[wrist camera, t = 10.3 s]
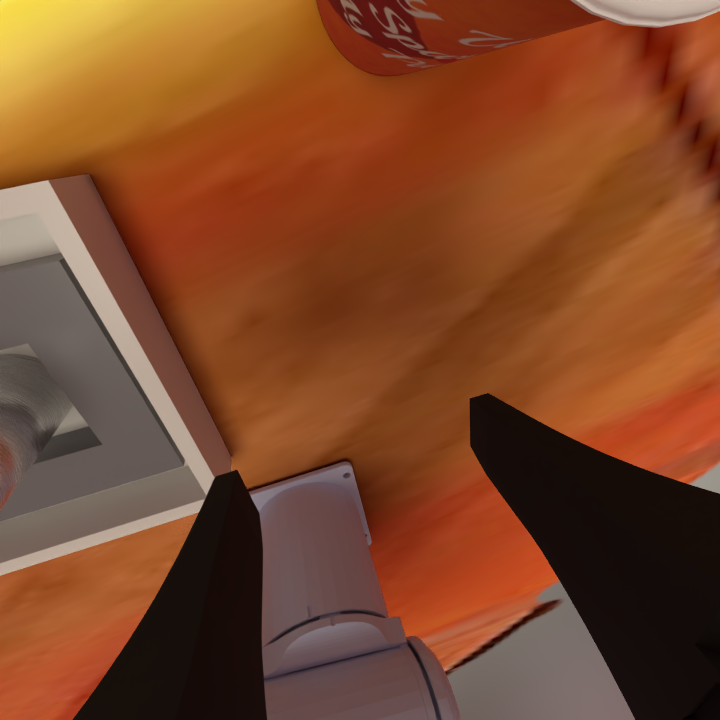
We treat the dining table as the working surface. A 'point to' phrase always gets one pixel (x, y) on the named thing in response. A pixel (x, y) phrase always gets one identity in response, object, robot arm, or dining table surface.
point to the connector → (26, 416)
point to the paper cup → (475, 26)
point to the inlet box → (95, 381)
